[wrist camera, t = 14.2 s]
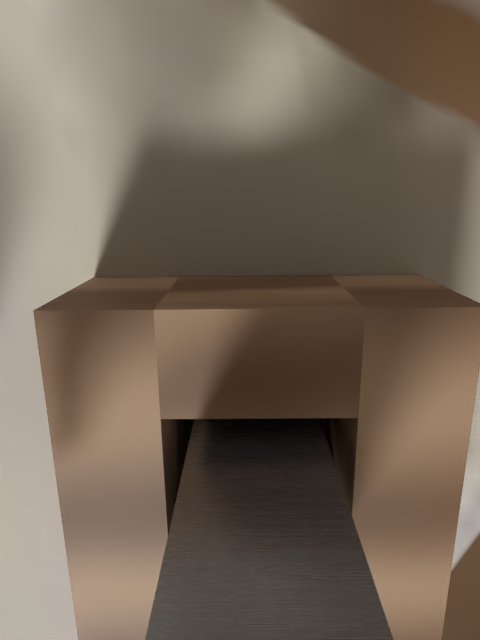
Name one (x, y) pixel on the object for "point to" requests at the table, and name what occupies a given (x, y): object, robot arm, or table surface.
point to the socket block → (258, 403)
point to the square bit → (263, 541)
